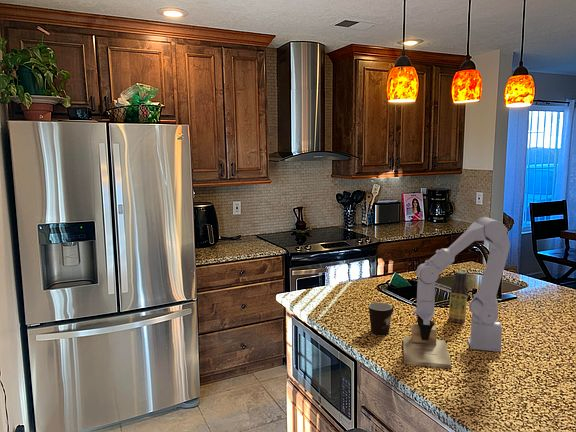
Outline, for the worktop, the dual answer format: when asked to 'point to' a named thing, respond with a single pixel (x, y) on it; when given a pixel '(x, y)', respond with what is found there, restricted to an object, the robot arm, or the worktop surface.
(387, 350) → the worktop surface
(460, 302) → the sauce bottle
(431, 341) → the block
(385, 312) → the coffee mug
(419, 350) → the board
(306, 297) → the worktop surface
